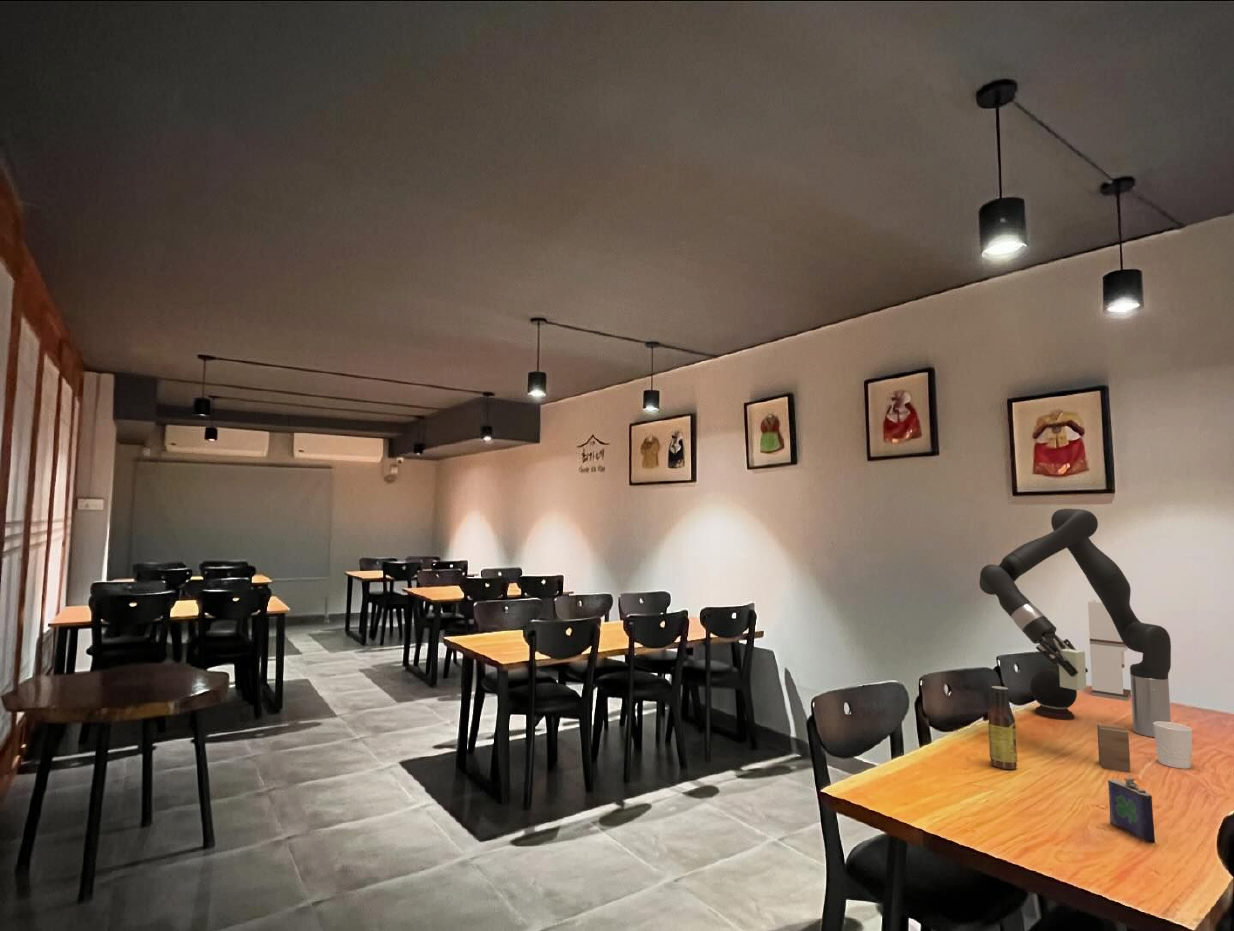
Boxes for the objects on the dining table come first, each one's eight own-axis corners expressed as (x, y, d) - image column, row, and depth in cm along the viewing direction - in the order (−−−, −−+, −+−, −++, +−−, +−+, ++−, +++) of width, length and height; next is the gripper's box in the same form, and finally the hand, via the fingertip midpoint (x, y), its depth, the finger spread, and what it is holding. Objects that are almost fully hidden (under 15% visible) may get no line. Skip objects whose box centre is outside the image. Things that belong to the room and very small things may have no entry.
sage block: (1059, 686, 184) (1058, 649, 185) (1068, 685, 186) (1067, 648, 187) (1077, 690, 180) (1076, 652, 181) (1086, 688, 182) (1084, 651, 183)
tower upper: (1097, 742, 178) (1097, 723, 179) (1125, 746, 175) (1124, 726, 176) (1100, 748, 173) (1099, 728, 174) (1129, 752, 170) (1128, 732, 170)
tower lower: (1098, 761, 178) (1098, 742, 178) (1127, 766, 175) (1126, 746, 175) (1101, 768, 173) (1100, 748, 173) (1130, 773, 170) (1129, 752, 170)
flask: (1106, 822, 140) (1104, 770, 141) (1119, 822, 140) (1116, 769, 141) (1147, 843, 130) (1144, 787, 131) (1160, 843, 131) (1157, 786, 132)
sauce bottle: (1021, 771, 169) (1018, 691, 171) (994, 769, 170) (992, 689, 172) (1011, 762, 175) (1009, 685, 177) (985, 760, 176) (983, 684, 178)
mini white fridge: (1127, 700, 244) (1122, 604, 248) (1092, 695, 252) (1087, 601, 255) (1130, 695, 253) (1126, 602, 256) (1096, 690, 260) (1092, 599, 263)
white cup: (1201, 771, 172) (1198, 731, 173) (1166, 768, 173) (1164, 728, 174) (1182, 760, 180) (1179, 722, 180) (1148, 758, 181) (1146, 720, 182)
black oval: (1071, 723, 214) (1069, 675, 215) (1025, 714, 223) (1023, 668, 225) (1082, 716, 222) (1080, 670, 224) (1037, 707, 232) (1036, 663, 233)
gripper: (1028, 616, 188) (1076, 668, 176) (1055, 613, 195) (1104, 663, 183) (1010, 632, 192) (1056, 684, 181) (1037, 629, 199) (1084, 679, 187)
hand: (1080, 673), depth 182 cm, fingers closed on sage block, 4 cm apart
